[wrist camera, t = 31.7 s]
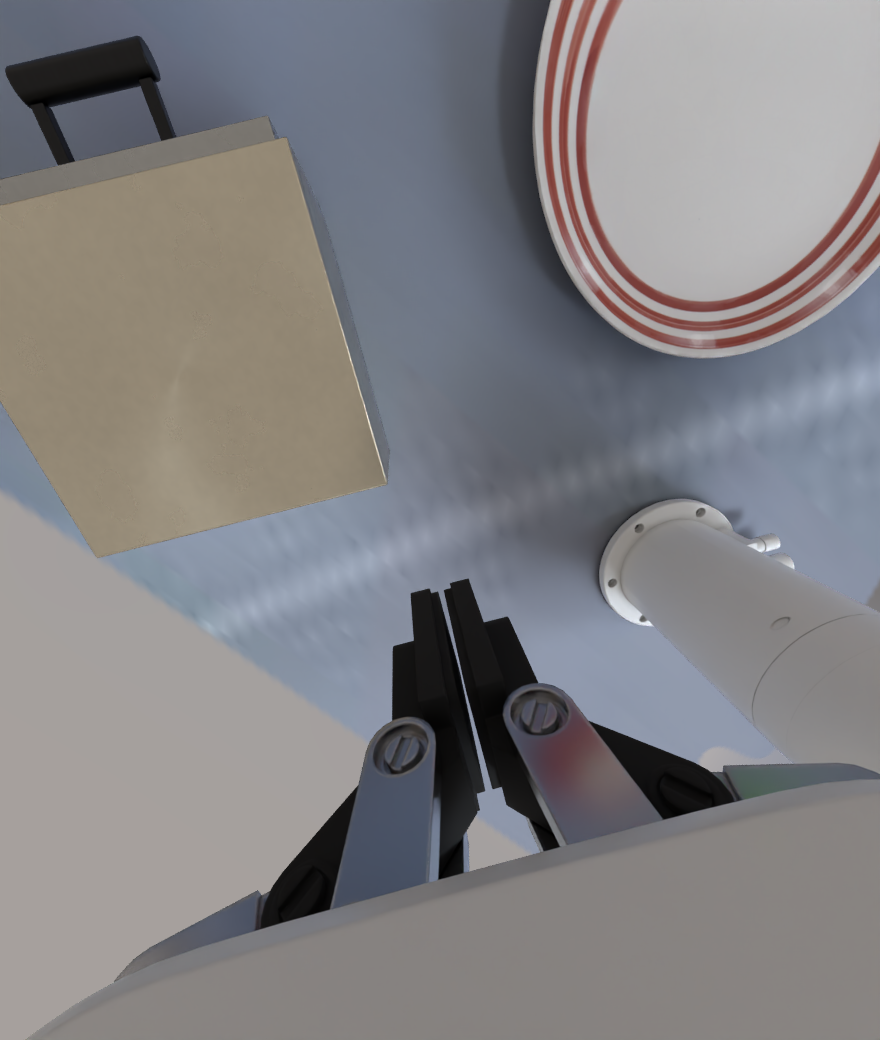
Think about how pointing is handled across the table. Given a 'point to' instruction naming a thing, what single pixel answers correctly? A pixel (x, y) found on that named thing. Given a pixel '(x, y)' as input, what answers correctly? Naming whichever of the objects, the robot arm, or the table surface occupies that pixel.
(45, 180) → the handled box
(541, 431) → the table surface
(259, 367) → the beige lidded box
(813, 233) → the dinner plate
